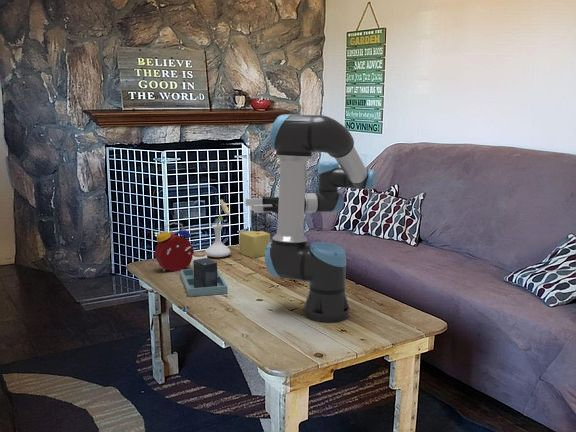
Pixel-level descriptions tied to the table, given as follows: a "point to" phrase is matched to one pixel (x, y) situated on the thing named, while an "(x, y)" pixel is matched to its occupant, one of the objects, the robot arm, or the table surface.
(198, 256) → the jar
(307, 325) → the table surface
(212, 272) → the box
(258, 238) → the yellow block
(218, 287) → the tray
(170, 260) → the alarm clock
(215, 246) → the flower in vase
